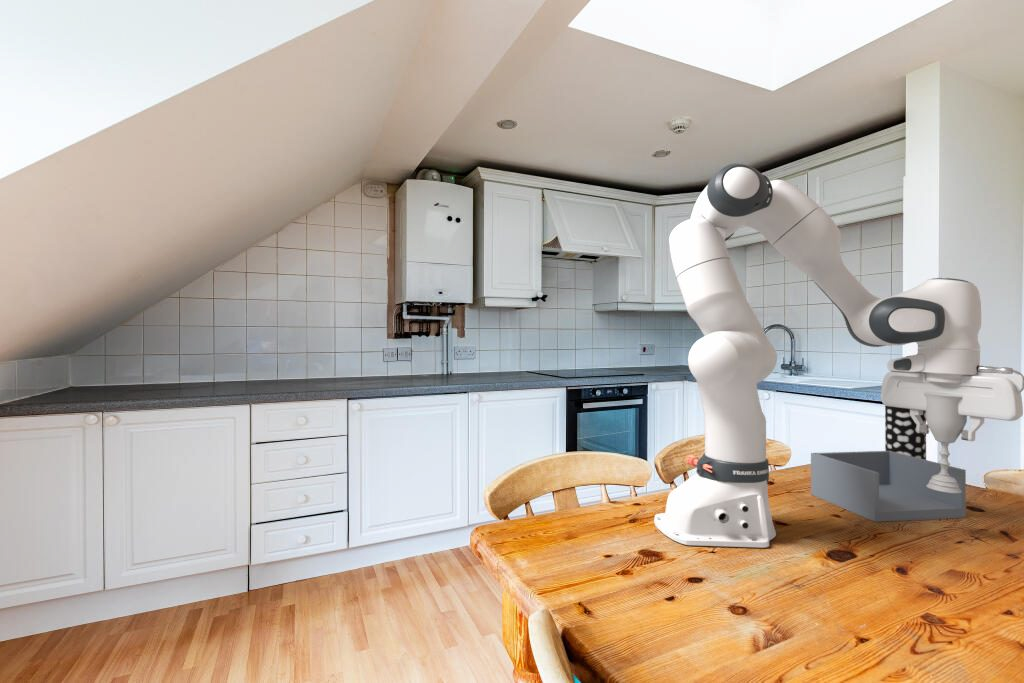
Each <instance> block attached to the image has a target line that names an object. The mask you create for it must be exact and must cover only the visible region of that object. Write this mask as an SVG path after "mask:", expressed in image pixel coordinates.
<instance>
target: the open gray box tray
mask: <svg viewBox="0 0 1024 683" xmlns="http://www.w3.org/2000/svg"><path fill="white" fill-rule="evenodd" d="M940 471H941V465H940V464H939V463H938V462H936V461H931V460H927V459H926V460H924V459H920V458H916V457H912V456H908V455H904V454H900V453H896V452H892V451H885V450H873V451H872V450H871V451H869V450H868V451H838V452H837V451H836V452H835V451H833V452H811V453H810V494H811V495H812V496H814V497H816V498H818V499H821V500H823V501H825V502H828V503H830V504H832V505H835V506H837V507H840V508H842V509H844V510H846V511H848V512H851V513H853V514H856V515H858V516H861V517H863V518H865V519H868V520H870V521H872V522H875V523H879V522H895V521H896V522H897V521H900V522H901V521H919V520H920V521H921V520H940V519H941V520H942V519H943V520H944V519H945V520H946V519H959V518H960V519H962V518H964V519H965V518H966V516H967V515H966V514H967V513H966V510H967V508H966V507H967V506H966V504H967V502H966V500H967V498H966V494H967V493H966V491H967V490H966V480H967V478H966V476H967V475H966V473H967V472H966V471H967V470H966V469H964V468H960V467H957V466H951V465H949V466H948V469H947V471H948V474H949V476H950V477H953V478H954V479H955V480H956V481H957V484H958V485H959V489H960V490H961V491H962V492H961V493H948V492H942V491H937V490H933V489H930V488H928V487H927V486H926V485H927V484H928V483H929V481H930V480H931V477H932V476H933V475H938V474H939V473H940Z"/></svg>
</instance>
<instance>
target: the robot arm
mask: <svg viewBox="0 0 1024 683" xmlns="http://www.w3.org/2000/svg"><path fill="white" fill-rule="evenodd" d="M743 226H744V227H748V228H751V229H754V230H755V231H757V232H759V233H760V234H761V235H762V236H763V237H764V238H765V239H766V241H768V242H767V243H769V244H770V245H771V246H772V247H773V248H774V249H775V250H776V251H777V252H779V253H780V254H781V255H782V256H783V257H784V258H785V259H786V260H788V261H789V262H790V263H792V265H794V266H795V267H797V268H798V269H799V270H800V271H801V272H802V273H803V274H805V275H806V276H807V277H808V278H809V279H811V280H812V281H813V283H815V285H816V286H817V288H819V290H820V291H822V293H823V294H825V296H826V297H827V298H828V299H829V300H830V302H831V303H832V304H834V306H835V307H836V308H837V309H838V310H839V311H840V313H841V314H842V317H843V319H844V322H845V326H846V328H847V330H848V332H849V335H850V336H851V337H852V338H853V339H854V340H855V341H856V342H858V343H860V344H861V345H864V346H866V347H873V348H880V347H881V348H882V347H885V346H886V347H887V346H891V347H892V346H903V345H908V344H912V343H916V345H917V353H916V354H912V355H907V356H903V357H899V358H894V359H890V360H888V361H887V362H886V363H887V364H886V366H887V367H886V368H887V369H888V372H886V374H885V375H884V376H883V379H882V384H881V388H880V401H881V402H882V404H883V405H884V407H885V406H890V407H899V408H907V409H910V416H911V417H912V419H913V420H914V422H915V423H916V424H917V425H916V432H917V433H922V434H926V435H927V434H928V435H929V434H930V429H929V426H928V424H927V423H926V424H924V422H923V420H922V418H921V417H920V415H923V411H926V402H927V399H926V397H925V395H924V394H930V395H940V396H955V397H962V398H961V400H960V401H959V403H958V413H959V415H965V416H967V417H969V422H970V423H972V425H971V426H970V427H969V428H968V429H963V430H962V431H961V434H960V436H961V437H960V439H961V440H963V441H969V442H975V441H976V434H977V433H976V432H978V430H979V429H980V428H981V427H982V426H983V425H984V424H985V419H991V420H998V421H1005V422H1006V421H1008V422H1012V421H1013V422H1014V421H1017V420H1019V419H1020V418H1021V417H1023V415H1024V407H1023V404H1024V403H1023V399H1022V398H1023V397H1022V392H1023V391H1024V375H1023V374H1022V373H1021V372H1020V371H1018V370H1016V369H1014V368H1012V367H1007V366H1005V367H998V366H997V367H995V366H991V365H990V366H987V365H986V366H984V365H980V363H981V362H980V361H981V346H980V343H979V336H978V335H979V332H980V330H981V328H982V303H981V302H982V301H981V294H980V291H979V288H978V286H976V285H975V284H974V283H972V282H970V281H968V280H965V279H961V278H960V279H959V278H953V277H952V278H950V277H949V278H948V277H946V278H943V277H935V278H933V277H932V278H929V279H926V280H925V281H924V282H923V283H920V284H919V285H917V286H914V287H913V288H911V289H907V290H905V291H902V292H900V293H896V294H894V295H893V294H892V295H889V296H886V297H882V298H881V297H878V296H877V295H874V294H872V293H871V292H869V291H868V289H867V288H865V286H864V285H863V284H862V283H861V282H860V281H859V280H858V279H857V278H856V277H855V276H854V274H853V273H852V272H851V271H850V270H849V269H848V268H847V267H846V265H845V264H844V262H843V260H842V257H841V256H842V255H841V242H842V233H841V230H840V228H839V227H838V226H837V224H836V223H835V221H834V220H833V218H832V217H831V216H830V214H828V213H827V212H826V210H824V209H823V208H822V207H821V206H820V204H818V203H817V202H815V200H813V199H812V198H811V197H809V196H808V195H807V194H806V193H805V192H803V191H802V190H800V189H799V188H797V187H796V186H794V185H793V184H791V183H789V182H787V181H786V180H783V179H773V180H771V179H769V178H768V176H766V175H764V174H763V173H761V171H759V170H757V168H754V167H752V166H750V165H748V164H743V163H730V164H728V165H726V166H724V167H722V168H721V169H719V170H717V172H716V173H715V174H714V175H713V176H712V177H711V178H710V180H709V181H708V183H707V185H706V186H705V187H704V189H703V190H702V191H701V192H700V194H699V195H698V197H697V199H696V201H695V203H694V206H693V208H692V210H691V211H690V212H689V215H688V219H687V220H684V221H682V222H681V223H679V224H677V225H676V226H675V227H674V228H673V229H672V230H671V232H670V235H669V238H668V244H669V253H670V258H671V263H672V267H673V271H674V273H675V279H676V281H677V285H678V287H679V289H680V294H681V296H682V299H683V302H684V306H685V308H686V310H687V314H688V315H689V316H690V318H691V319H692V320H693V321H694V322H695V323H696V324H697V326H698V328H699V329H700V331H701V333H702V334H703V336H702V337H701V338H699V339H698V340H696V341H695V343H693V345H692V346H691V348H690V350H689V352H688V357H687V363H688V370H689V371H690V373H691V374H692V376H693V378H695V381H696V383H697V387H698V392H699V395H700V400H701V404H702V411H703V417H704V420H703V421H704V453H703V454H702V456H701V457H700V458H698V457H697V456H695V455H693V454H689V455H688V456H687V457H686V459H685V460H686V463H687V464H688V465H690V466H691V467H694V468H695V467H696V472H695V473H694V474H692V476H689V478H687V479H685V481H684V482H682V483H681V484H679V485H678V486H677V487H675V488H674V489H672V490H671V491H670V492H669V493H668V496H667V500H666V504H665V510H664V511H665V512H660V513H656V514H654V519H653V524H654V525H655V527H656V529H658V530H659V531H660V533H662V534H663V535H664V536H666V537H668V538H669V539H671V540H673V542H674V541H675V542H677V543H679V544H682V545H685V546H703V547H707V546H708V547H709V546H710V547H730V548H731V547H733V548H735V547H737V548H761V549H762V548H763V549H764V548H766V549H767V548H769V547H770V542H771V540H773V539H774V538H776V536H777V532H776V529H775V526H774V523H773V519H772V514H771V513H772V512H771V509H770V501H769V493H768V483H769V479H770V465H769V464H770V463H769V459H768V458H767V418H766V415H765V414H764V412H763V409H762V406H761V402H760V395H759V392H758V391H759V390H758V384H759V383H761V382H762V381H764V380H766V379H767V378H768V377H769V375H771V374H772V372H773V371H774V369H775V368H776V365H777V361H778V356H777V355H778V354H777V350H776V348H775V346H774V345H773V344H772V342H771V341H770V340H769V339H768V338H769V337H767V334H766V333H765V331H764V329H763V326H762V325H761V323H760V321H759V318H757V315H756V314H755V312H754V310H753V308H752V307H751V306H750V303H749V301H748V299H747V298H746V296H745V294H744V291H743V288H742V286H741V283H740V282H741V281H740V279H739V278H738V275H737V272H736V270H735V267H734V264H733V261H732V259H731V258H732V257H731V256H730V253H729V251H728V249H727V247H726V245H727V244H726V241H727V240H729V239H730V238H731V237H732V236H734V234H735V233H736V232H737V231H738V230H740V228H742V227H743ZM1014 373H1015V374H1014ZM923 393H924V394H923Z"/></svg>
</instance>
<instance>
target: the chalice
mask: <svg viewBox="0 0 1024 683" xmlns="http://www.w3.org/2000/svg"><path fill="white" fill-rule="evenodd" d="M923 394H924V393H923ZM924 395H925V397H926V399H927V402H926V415H925V418H926V424H928V426H929V431H930V432H931V434H932V436H933V438H934V439H935V441H936V442H938V443H940V444H941V450H940V451H939V453H938V454H939V456H940V461H938V462H937V463H939V464H940V465H941V471H940V473H939V474H938V475H933V476H932V477H931V480H930V481H929V483H928V484H927V485H926V486H927V487H928V488H930V489H933V490H937V491H942V492H948V493H961V492H962V491H961V490H960V489H959V485H958V484H957V481H956V480H955V479H954V478H953V477H950V476H949V474H948V471H947V469H948V466H951V463H950V462H949V460H948V458H949V456H950V455H951V454H950V451H949V445H950V444H954V443H955V442H956V441H957V440H958V438H959V437H960V436H961V435H962V434H961V431H962V430H965V429H964V428H965V427H966V424H967V423H968V416H965V415H959V413H958V403H959V401H960V400H961V398H962V397H955V396H940V395H930V394H924Z"/></svg>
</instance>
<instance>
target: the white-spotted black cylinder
mask: <svg viewBox="0 0 1024 683" xmlns="http://www.w3.org/2000/svg"><path fill="white" fill-rule="evenodd" d="M884 409H885V410H884V414H885V415H884V422H885V423H884V430H885V431H884V432H885V433H884V439H885V440H884V441H885V442H884V444H885V446H884V447H885V448H884V451H892V452H896V453H900V454H904V455H908V456H912V457H916V458H920V459H924V460H927V434H922V433H917V432H916V425H917V424H916V423H915V422H914V420H913V419H912V417H911V416H910V409H907V408H899V407H890V406H885V405H884ZM925 415H926V411H923V415H920V417H921V418H922V420H923V422H924V424H927V421H926V418H925Z"/></svg>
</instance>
